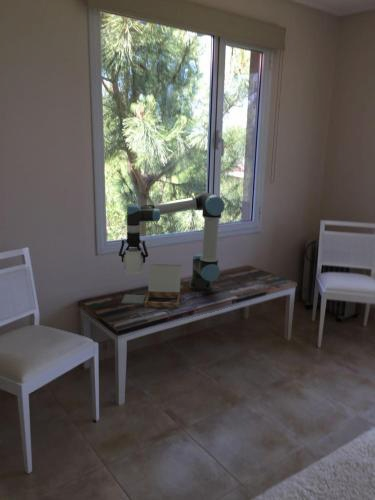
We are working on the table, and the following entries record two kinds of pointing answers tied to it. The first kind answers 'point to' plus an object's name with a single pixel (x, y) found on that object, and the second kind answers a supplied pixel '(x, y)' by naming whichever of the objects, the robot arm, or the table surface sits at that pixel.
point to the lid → (164, 278)
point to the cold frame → (162, 304)
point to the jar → (133, 261)
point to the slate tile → (133, 299)
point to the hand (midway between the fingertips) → (133, 267)
